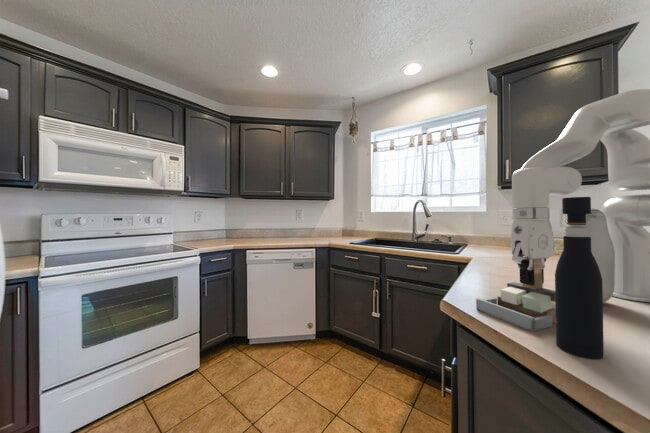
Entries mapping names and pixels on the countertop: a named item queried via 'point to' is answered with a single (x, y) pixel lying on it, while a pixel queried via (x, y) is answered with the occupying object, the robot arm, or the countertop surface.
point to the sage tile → (537, 302)
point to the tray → (513, 315)
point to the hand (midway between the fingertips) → (531, 282)
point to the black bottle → (578, 287)
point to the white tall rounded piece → (601, 249)
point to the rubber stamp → (538, 282)
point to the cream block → (512, 295)
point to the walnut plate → (529, 312)
